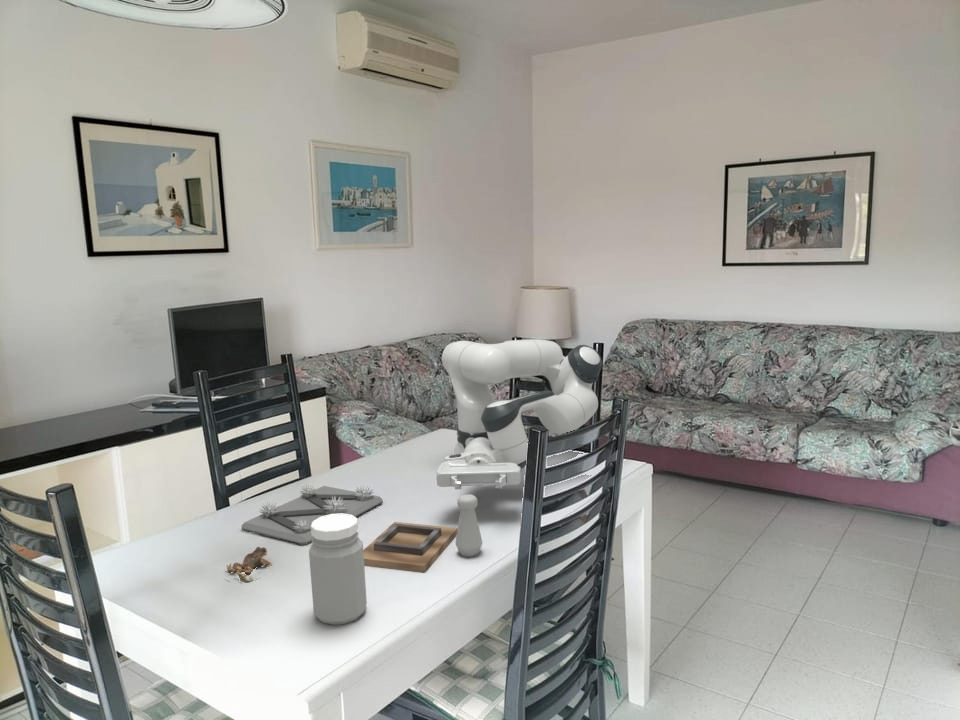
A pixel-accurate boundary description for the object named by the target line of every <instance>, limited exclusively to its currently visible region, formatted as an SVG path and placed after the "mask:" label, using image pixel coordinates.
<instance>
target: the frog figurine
mask: <svg viewBox="0 0 960 720" xmlns="http://www.w3.org/2000/svg"><path fill="white" fill-rule="evenodd" d="M267 553H268V549H267V547H265V546H264V547H260V546H257V547H256V548H255V549H254V550H252V552H250V553H248V554H245V556H244V559H243V560H242V563H238V562H234V563H233V565H232V563H229V565H226V569H227V572H226V573H231V572H234V573H236V574H237V576H239V578H240V581H241V582H244V583H250V582H253V581H256V580H259V581H261V580H260V579H261V578H262V577H257V578H258V579H257V578H255V579H256V580H253V576H249V575H250V574H251V572H253V569H255V568H256V567H257V566H258V565H259V564H263V565H262V566H263V567H270V566H272V565H273V562H270V561H269V560H266V559H264V557H265V556H267ZM272 567H273V566H272ZM270 568H271V567H270ZM240 572H245V574H246V575H245V574H241V573H240ZM231 574H232V573H231ZM256 582H257V581H256ZM244 583H243V584H244ZM253 583H254V582H253ZM250 584H251V583H250Z"/></svg>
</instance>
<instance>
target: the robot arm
mask: <svg viewBox="0 0 960 720" xmlns="http://www.w3.org/2000/svg"><path fill="white" fill-rule="evenodd" d="M563 354H564V353H563V349H562V348H561V346H560V345H559V344H558V343H556V342H555V341H552V340H548V339H539V338H538V339H537V338H536V339H533V338H530V339H516V340H515V339H514V340H512V339H511V340H505V341H504V342H500V343H499V342H498V343H481V342H475V341H469V340H458V341H454V342H451V343H449V344H447V345H446V347H445V348H444V349H443V351H442V354H441V355H442V356H441V363H442V366H443V368H444V369H445V370H446V372H447V374H448V377H449V378H450V381H451V385H452V388H453V392H454V396H455V400H456V408H457V409H456V410H457V426H458V427H457V428H456V438H457V439H456V440H457V443H456V444H454V446H453V449H452V454H451V455H446V456H445V457H444V460H443V462H441V463H440V464H439V466H438V468H437V470H436V485H437V487H440V488H445V487H446V488H447V487H453V488H454V490H462V487H483V486H484V487H485V486H486V487H487V486H495V489H503V487H504V486H513V485H514V486H516V485H519V484H521V481H522V480H521V479H522V477H521V471H522V470H523V469H524V468H525V467H526V466H527V465H526V456H527V442H528V441H529V439H528V436H527V433H526V431H525V427H524V424H523V420H522V413H523V412H526V411H531V410H532V411H533V412H534V413H535V414H536V416H537V417H538V419H539V421H540V422H541V424H542V425H543V426H544V427H545V428H546V430H548V429H549V430H548V431H550V432H551V433H553V434H557V435H560V434H562V433H566V432H570V431H573V430H575V431H577V430H578V429H580V428H581V427H582V426H583V425H585V424H586V423H587V422H588V421H589V420H590V419H591V418H592V417H593V416H594V414H596V412H597V410H598V409H599V400H598V399H599V398H598V397H597V395H596V393H595V392H594V390H593V388H592V387H593V384H594V383H597V382H598V380H599V376H600V372H601V371H602V366H603V361H602V357H601V355H600V353H599V352H598V351H597V350H596V349H595V348H593V347H591V346H589V345H586V344H579V345H577V346H575V347H574V348H572V349H571V350H570V351H569V352H568V354H567V356H564V355H563ZM534 376H535V377H536V376H543V377H542V385H543V387H544V390H543V391H542V390H541V391H537V392H532V393H528V394H524V395H521V396H518V397H517V396H516V397H514V398H509V399H507V400H497V401H496V399H495V397H494V396H493V395H492V392H491V391H490V389H489V386H488V385H497V384H498V385H499V384H501V383H503V382H504V381H506V380H510V379H514V378H515V379H517V378H518V379H519V378H527V377H534ZM573 432H574V431H573Z"/></svg>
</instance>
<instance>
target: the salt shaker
mask: <svg viewBox="0 0 960 720" xmlns="http://www.w3.org/2000/svg"><path fill="white" fill-rule="evenodd" d="M456 501H457V503H456V504H457V507H458V508H459V509H460V510H459V518H458V524H457V535H456V536H455V546H456V548H457V550H458V553H459V555H461V556H462V557H465V558H473V557H476V556H479V553H480V551H481V548H482V546H483V539H482V534H481V530H480V527H479V526H480V525H479V522H478V518H477V514H476V508H477V506H478V498H477V497H476V496H475V495H473V494H462V495H460V496H459V497H458V498H457V500H456Z"/></svg>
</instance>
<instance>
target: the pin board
mask: <svg viewBox="0 0 960 720" xmlns="http://www.w3.org/2000/svg"><path fill="white" fill-rule="evenodd" d="M457 529H458V527H453V526H451V527H450V526H441V525H432V524H431V525H430V524H421V523H411V522H401V521H394V522H393V523H391V524H390V525H389V526H388V527H387V528H386V529H385V530H384V531H383V532H381V534H380V535H378V536H377V537H376V538H375V539H374V540H373V541H372V542H371V543H370V544H368V545H367V546H366V547H365V548H363V553H364V566H366V567H367V566H369V567H375V568H376V567H377V568H384V569H394V570H401V571H407V572H408V571H409V572H415V573H417V572H418V573H426V572H427V571H428V570H429V568H430V567H431V566H432V565H433V563H434V562H435V561H436V560H437V559H438V557H440V556H441V554H442V553H443V552H444V551H445V549H446V548H447V547H448V546H449V545H450V544H451V542H452V541H453V540H454V539H456V536H457Z"/></svg>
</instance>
